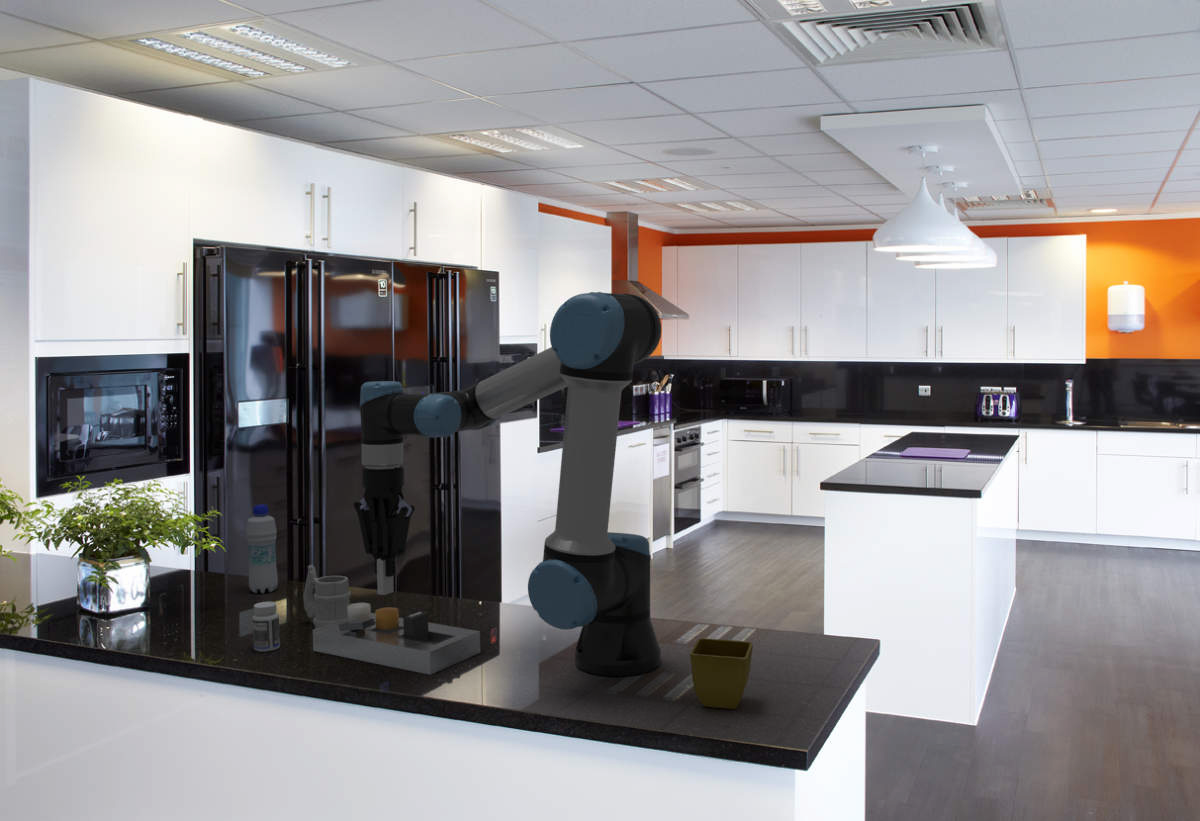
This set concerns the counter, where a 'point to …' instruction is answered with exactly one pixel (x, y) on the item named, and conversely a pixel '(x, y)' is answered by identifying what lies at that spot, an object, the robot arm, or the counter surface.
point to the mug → (326, 598)
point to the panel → (399, 645)
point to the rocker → (356, 624)
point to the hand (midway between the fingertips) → (385, 592)
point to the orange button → (387, 618)
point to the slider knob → (416, 626)
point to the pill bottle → (266, 627)
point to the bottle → (262, 550)
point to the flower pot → (720, 671)
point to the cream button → (359, 611)
